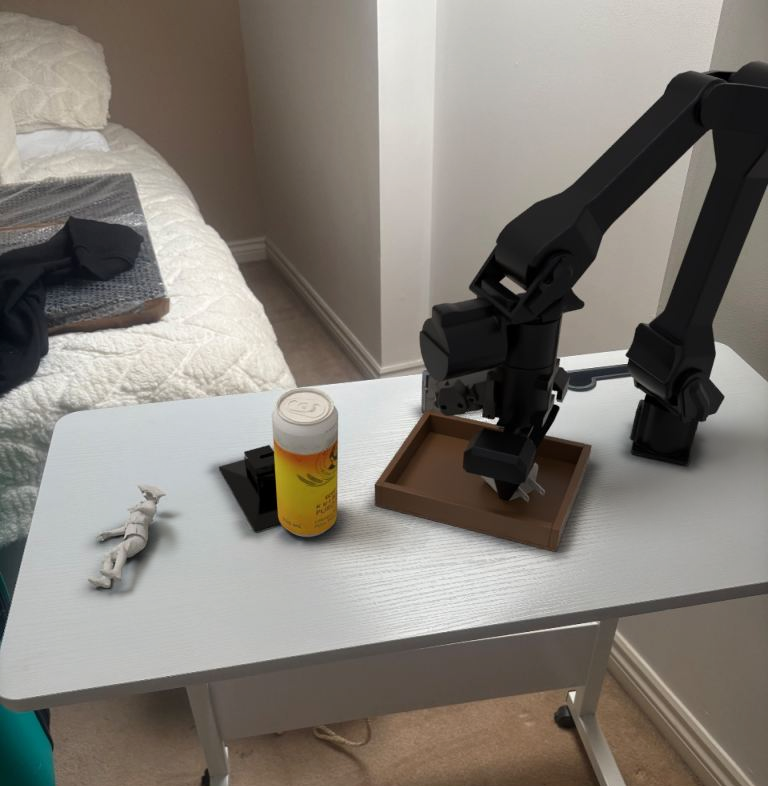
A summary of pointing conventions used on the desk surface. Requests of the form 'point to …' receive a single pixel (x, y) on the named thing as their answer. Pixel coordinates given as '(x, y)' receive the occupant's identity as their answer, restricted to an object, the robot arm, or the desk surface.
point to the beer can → (306, 460)
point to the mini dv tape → (428, 393)
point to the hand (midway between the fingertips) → (511, 483)
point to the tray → (480, 483)
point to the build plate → (255, 487)
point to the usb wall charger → (522, 485)
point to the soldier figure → (129, 536)
